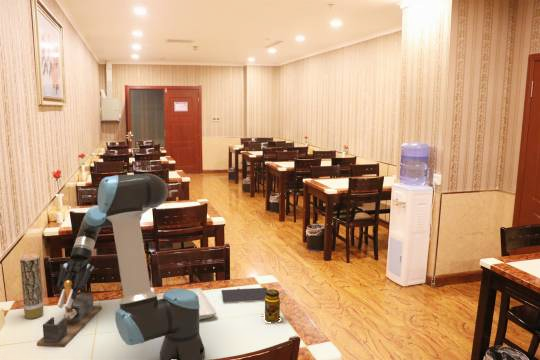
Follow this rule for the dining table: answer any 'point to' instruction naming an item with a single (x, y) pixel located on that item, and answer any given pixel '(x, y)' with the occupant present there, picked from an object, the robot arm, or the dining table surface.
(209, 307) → the square plate
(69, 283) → the wooden handle lever
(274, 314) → the condiment
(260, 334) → the dining table surface
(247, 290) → the notebook
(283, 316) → the dining table surface
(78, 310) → the stand
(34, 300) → the grey patterned cylinder
